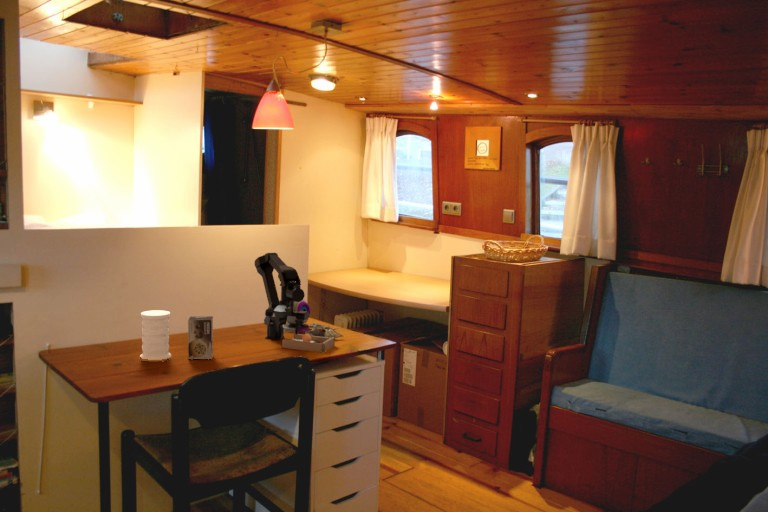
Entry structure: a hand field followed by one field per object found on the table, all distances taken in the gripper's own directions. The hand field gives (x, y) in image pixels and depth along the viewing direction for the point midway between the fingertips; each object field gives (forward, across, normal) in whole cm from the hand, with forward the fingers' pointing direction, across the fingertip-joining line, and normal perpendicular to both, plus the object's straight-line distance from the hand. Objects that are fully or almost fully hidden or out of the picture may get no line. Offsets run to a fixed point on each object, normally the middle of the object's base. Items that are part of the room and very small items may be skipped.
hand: (286, 333), depth 285 cm
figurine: (+5, +10, +19) cm, 22 cm away
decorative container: (+5, -35, -43) cm, 56 cm away
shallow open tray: (+5, +11, 0) cm, 12 cm away
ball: (+1, +10, 0) cm, 10 cm away
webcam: (+5, -8, +27) cm, 29 cm away
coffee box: (+5, -20, -35) cm, 40 cm away
